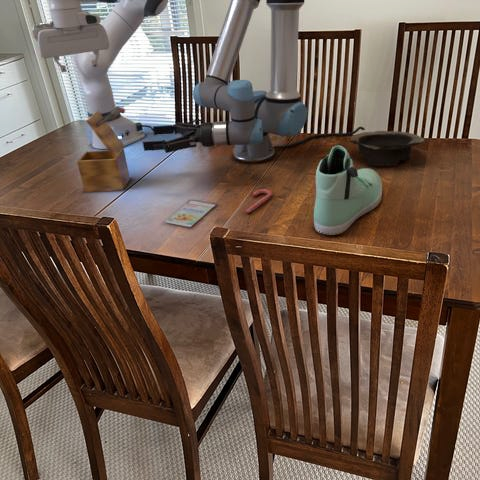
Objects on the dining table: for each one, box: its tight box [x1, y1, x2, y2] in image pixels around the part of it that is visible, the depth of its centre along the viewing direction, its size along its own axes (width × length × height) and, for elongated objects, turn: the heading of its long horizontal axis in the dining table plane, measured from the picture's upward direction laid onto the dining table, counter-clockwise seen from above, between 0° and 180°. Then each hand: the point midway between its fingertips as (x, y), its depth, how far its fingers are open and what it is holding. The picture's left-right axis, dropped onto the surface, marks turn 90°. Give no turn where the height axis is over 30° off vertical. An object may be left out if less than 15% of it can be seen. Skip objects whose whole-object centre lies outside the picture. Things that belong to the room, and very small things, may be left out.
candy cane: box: [245, 188, 273, 215], centre depth 146 cm, size 6×15×2 cm, turn 145°
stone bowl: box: [349, 130, 426, 167], centre depth 167 cm, size 25×25×9 cm
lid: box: [86, 106, 126, 158], centre depth 155 cm, size 14×9×8 cm
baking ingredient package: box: [164, 200, 216, 228], centre depth 143 cm, size 9×1×15 cm
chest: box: [76, 148, 131, 193], centre depth 162 cm, size 13×9×11 cm
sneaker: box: [313, 145, 383, 236], centre depth 133 cm, size 14×35×20 cm, turn 152°
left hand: (79, 69), depth 145 cm, fingers open, 8 cm apart
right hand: (148, 138), depth 154 cm, fingers open, 13 cm apart
